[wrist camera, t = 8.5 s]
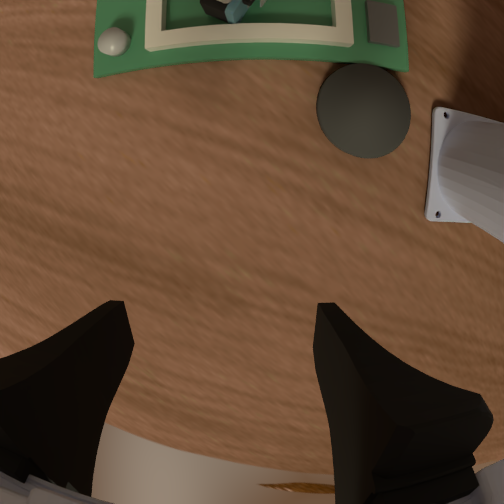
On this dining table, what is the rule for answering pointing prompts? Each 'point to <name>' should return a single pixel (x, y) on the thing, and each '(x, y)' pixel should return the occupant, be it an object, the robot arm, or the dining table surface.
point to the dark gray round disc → (363, 110)
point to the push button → (228, 9)
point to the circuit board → (248, 33)
